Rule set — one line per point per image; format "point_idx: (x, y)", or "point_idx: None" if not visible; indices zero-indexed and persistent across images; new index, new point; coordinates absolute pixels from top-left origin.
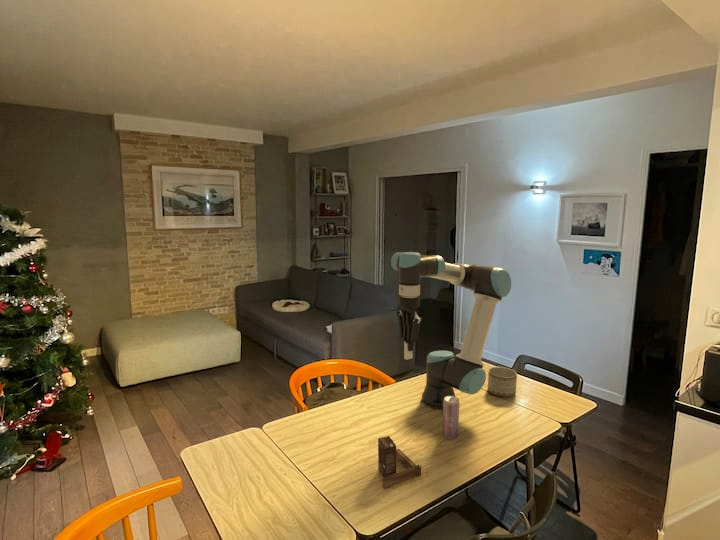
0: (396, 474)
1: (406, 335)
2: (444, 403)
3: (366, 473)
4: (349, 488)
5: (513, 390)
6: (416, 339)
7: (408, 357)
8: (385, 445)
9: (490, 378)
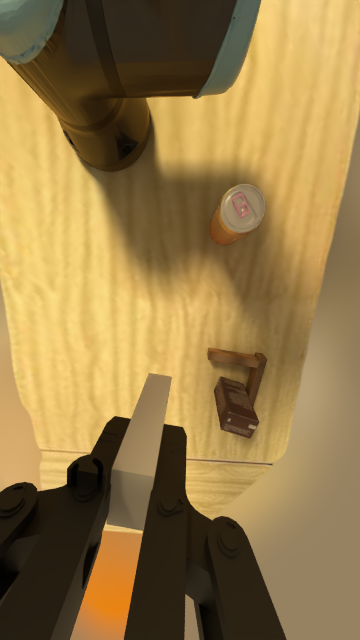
0: (252, 396)
1: (78, 597)
2: (232, 234)
3: (207, 404)
4: (215, 434)
5: None
6: (253, 579)
7: (166, 408)
8: (245, 433)
9: None
